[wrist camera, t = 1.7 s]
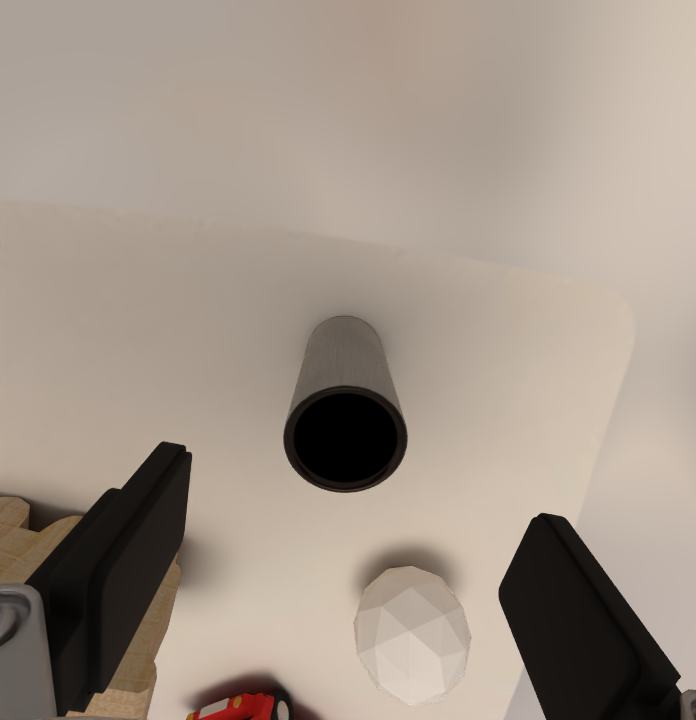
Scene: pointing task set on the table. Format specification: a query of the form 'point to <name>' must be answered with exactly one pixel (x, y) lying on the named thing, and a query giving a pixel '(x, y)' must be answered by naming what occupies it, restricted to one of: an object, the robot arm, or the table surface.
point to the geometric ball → (412, 635)
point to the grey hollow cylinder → (345, 410)
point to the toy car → (248, 708)
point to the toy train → (137, 669)
